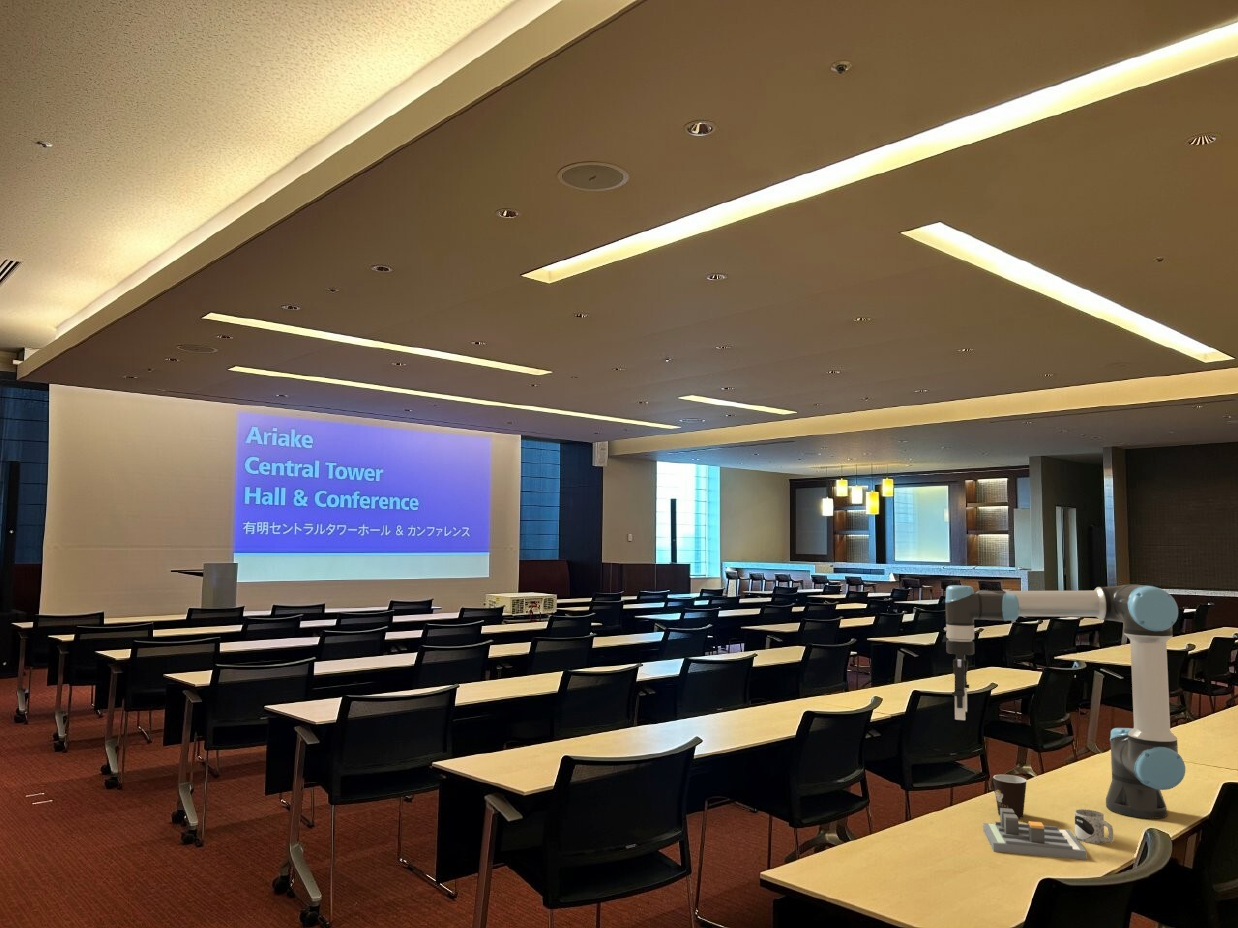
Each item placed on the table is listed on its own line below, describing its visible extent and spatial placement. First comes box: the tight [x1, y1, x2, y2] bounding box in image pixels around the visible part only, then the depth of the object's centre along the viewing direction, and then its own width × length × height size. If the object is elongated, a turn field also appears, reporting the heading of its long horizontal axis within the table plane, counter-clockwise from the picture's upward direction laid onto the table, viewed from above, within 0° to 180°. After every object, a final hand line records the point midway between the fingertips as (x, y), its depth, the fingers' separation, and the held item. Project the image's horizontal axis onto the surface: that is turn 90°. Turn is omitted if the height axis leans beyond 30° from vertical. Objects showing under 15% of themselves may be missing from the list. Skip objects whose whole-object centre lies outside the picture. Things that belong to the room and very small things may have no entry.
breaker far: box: [999, 808, 1015, 828], centre depth 231 cm, size 3×3×5 cm
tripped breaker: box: [1027, 820, 1045, 844], centre depth 220 cm, size 3×3×5 cm
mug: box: [1074, 808, 1114, 845], centre depth 228 cm, size 10×7×7 cm
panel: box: [982, 821, 1088, 861], centre depth 225 cm, size 21×16×3 cm
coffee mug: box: [990, 774, 1027, 820], centre depth 251 cm, size 12×9×10 cm
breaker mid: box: [1003, 814, 1020, 835], centre depth 226 cm, size 3×3×5 cm
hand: (961, 715), depth 252 cm, fingers open, 13 cm apart
